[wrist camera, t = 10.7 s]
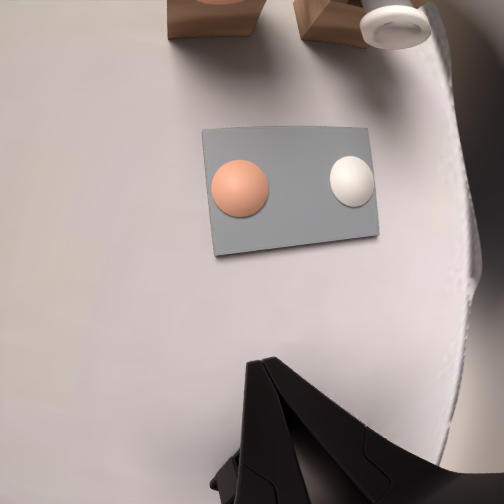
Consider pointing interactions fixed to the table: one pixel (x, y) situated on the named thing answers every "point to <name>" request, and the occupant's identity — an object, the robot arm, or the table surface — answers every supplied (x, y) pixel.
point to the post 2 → (334, 20)
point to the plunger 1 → (220, 1)
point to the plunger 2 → (393, 24)
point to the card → (288, 186)
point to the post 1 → (211, 18)
